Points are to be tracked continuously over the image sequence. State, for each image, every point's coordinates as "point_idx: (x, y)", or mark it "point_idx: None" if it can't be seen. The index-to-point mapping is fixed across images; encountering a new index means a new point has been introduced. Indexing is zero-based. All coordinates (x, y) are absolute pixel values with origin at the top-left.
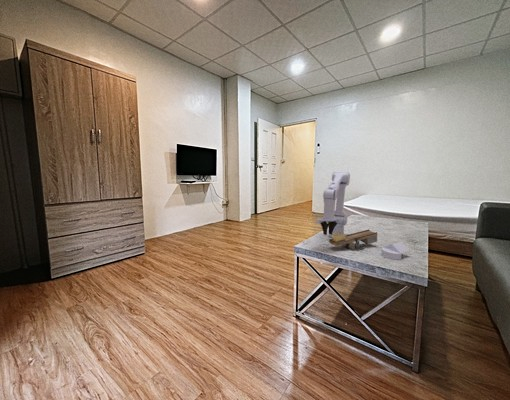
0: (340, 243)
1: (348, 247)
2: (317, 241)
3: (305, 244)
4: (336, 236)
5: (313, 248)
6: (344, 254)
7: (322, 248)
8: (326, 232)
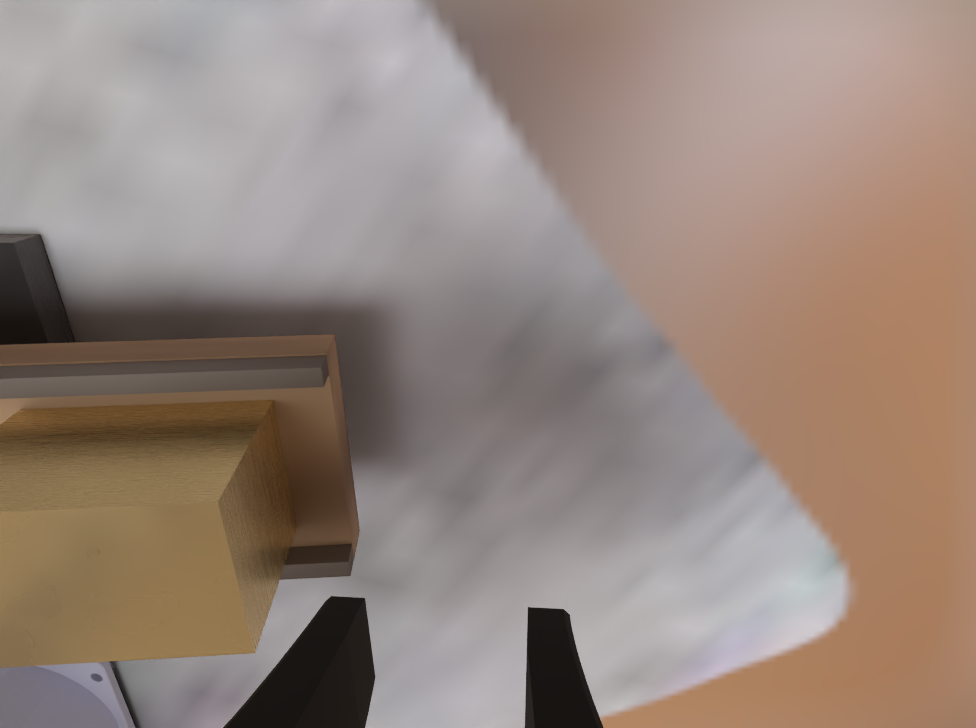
0: (201, 355)
1: None
2: (419, 685)
3: (675, 653)
4: (210, 508)
5: (664, 507)
6: (275, 130)
7: (514, 468)
8: (559, 677)
